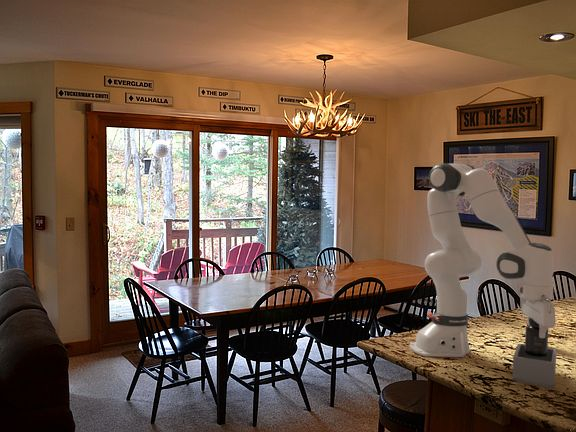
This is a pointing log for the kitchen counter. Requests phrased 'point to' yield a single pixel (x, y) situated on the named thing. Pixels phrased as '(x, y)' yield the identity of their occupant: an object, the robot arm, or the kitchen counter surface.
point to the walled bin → (534, 367)
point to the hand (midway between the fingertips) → (536, 333)
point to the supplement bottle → (535, 340)
